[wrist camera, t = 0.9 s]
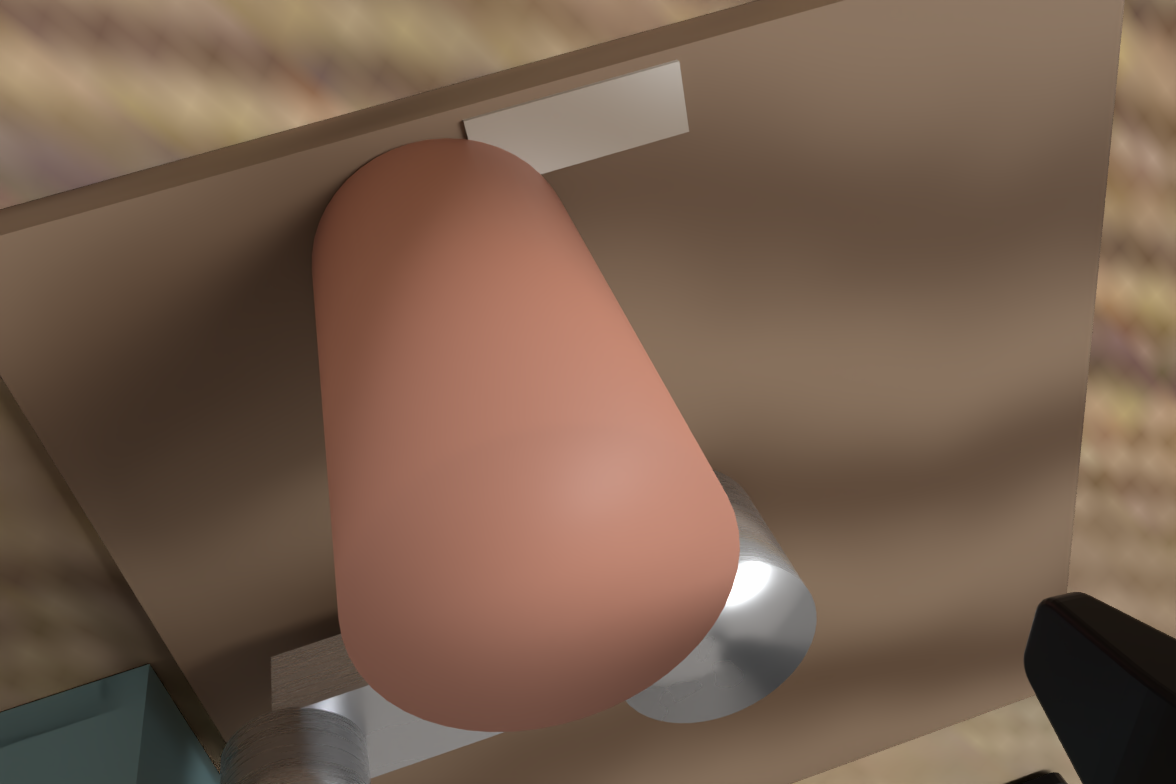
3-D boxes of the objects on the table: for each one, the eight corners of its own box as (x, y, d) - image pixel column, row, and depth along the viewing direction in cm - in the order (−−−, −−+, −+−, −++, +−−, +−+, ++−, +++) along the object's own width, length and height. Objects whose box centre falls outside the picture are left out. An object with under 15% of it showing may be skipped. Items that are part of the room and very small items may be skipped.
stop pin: (594, 334, 19) (757, 660, 13) (359, 404, 19) (407, 776, 13) (544, 106, 17) (716, 370, 10) (272, 181, 16) (275, 503, 10)
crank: (745, 441, 21) (924, 705, 16) (764, 581, 24) (927, 857, 18) (188, 622, 20) (162, 980, 14) (264, 752, 22) (267, 1105, 17)
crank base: (1031, 655, 30) (1059, 689, 29) (346, 901, 28) (349, 948, 27) (1087, -91, 19) (1136, -80, 18) (-55, 224, 17) (-76, 258, 16)
